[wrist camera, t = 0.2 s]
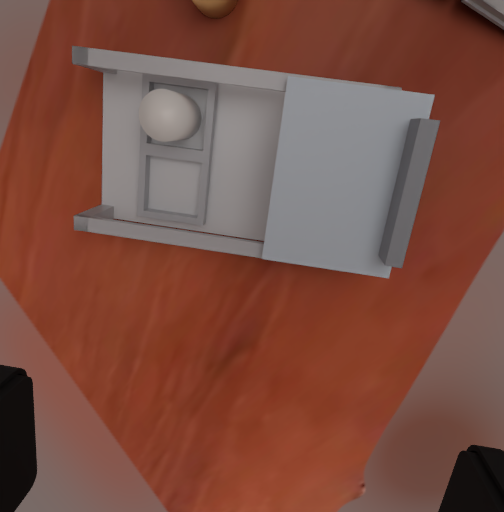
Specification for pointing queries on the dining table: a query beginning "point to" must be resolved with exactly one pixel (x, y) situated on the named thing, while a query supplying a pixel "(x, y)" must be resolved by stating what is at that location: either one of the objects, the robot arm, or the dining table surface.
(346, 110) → the lid
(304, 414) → the dining table surface
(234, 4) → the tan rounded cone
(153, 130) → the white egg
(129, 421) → the dining table surface
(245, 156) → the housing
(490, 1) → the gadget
